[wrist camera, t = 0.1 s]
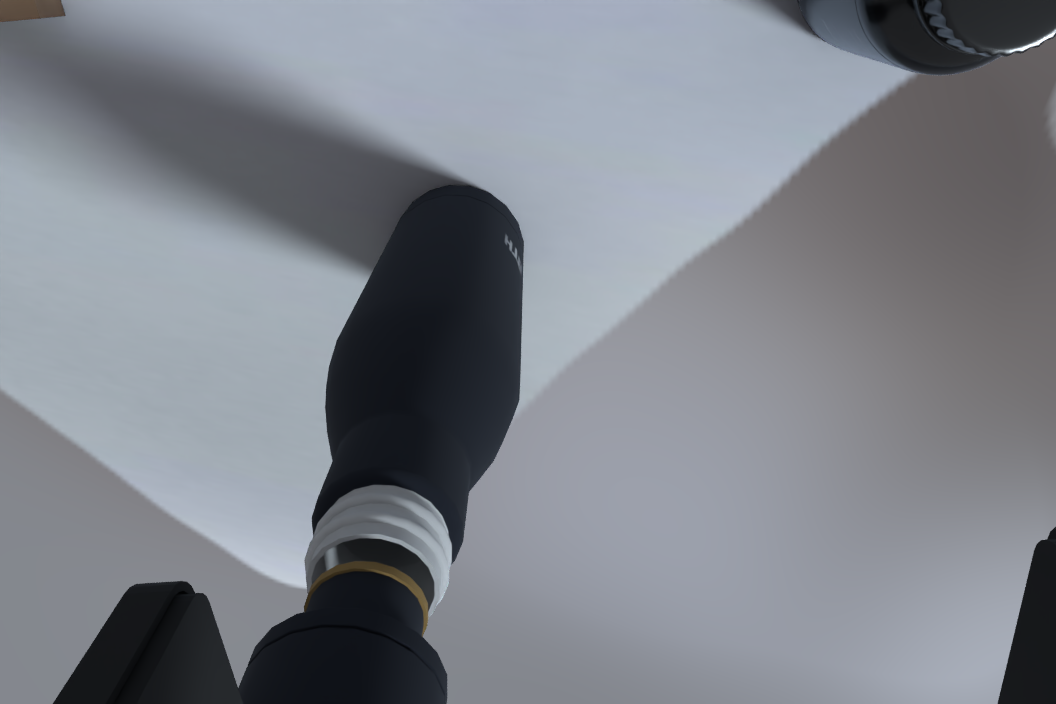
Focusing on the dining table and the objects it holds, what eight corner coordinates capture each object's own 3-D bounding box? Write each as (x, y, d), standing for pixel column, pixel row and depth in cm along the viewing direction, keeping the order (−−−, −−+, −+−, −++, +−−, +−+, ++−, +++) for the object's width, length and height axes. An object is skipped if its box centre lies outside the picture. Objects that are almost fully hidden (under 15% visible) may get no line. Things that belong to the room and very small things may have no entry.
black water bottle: (373, 271, 40) (52, 891, 13) (430, 159, 38) (179, 638, 11) (486, 328, 42) (403, 998, 15) (547, 224, 39) (585, 794, 12)
